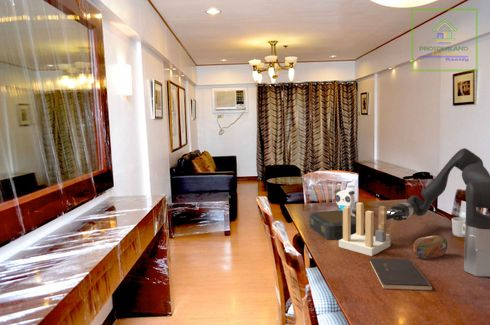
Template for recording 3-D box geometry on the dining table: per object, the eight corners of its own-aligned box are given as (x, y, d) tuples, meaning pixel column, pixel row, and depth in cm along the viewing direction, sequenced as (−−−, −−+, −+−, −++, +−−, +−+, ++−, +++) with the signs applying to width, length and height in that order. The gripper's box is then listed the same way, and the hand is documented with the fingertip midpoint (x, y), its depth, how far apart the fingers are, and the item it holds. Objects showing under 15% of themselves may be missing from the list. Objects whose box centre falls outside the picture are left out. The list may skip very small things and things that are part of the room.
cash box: (366, 237, 172) (366, 221, 172) (327, 241, 169) (327, 225, 168) (342, 223, 197) (342, 209, 196) (308, 226, 193) (308, 212, 192)
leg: (386, 239, 158) (386, 206, 156) (383, 241, 156) (383, 207, 155) (381, 238, 160) (381, 206, 158) (378, 239, 158) (378, 206, 156)
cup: (476, 240, 161) (477, 223, 160) (457, 240, 163) (457, 223, 162) (466, 233, 172) (467, 217, 171) (448, 233, 173) (449, 217, 172)
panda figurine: (330, 215, 213) (330, 190, 211) (341, 211, 220) (341, 187, 219) (348, 218, 204) (348, 193, 202) (358, 214, 211) (358, 190, 210)
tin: (417, 260, 142) (417, 240, 141) (411, 257, 145) (411, 237, 144) (447, 255, 146) (448, 235, 145) (441, 252, 149) (442, 233, 148)
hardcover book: (382, 290, 119) (382, 283, 119) (369, 263, 142) (369, 257, 142) (433, 292, 117) (433, 285, 117) (411, 264, 139) (411, 258, 139)
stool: (392, 245, 159) (392, 206, 157) (371, 256, 148) (372, 213, 146) (359, 237, 171) (360, 200, 169) (338, 246, 160) (338, 207, 158)
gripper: (388, 201, 173) (370, 207, 162) (416, 205, 164) (398, 212, 152) (388, 216, 174) (369, 223, 163) (415, 221, 164) (398, 229, 153)
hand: (383, 218), depth 158 cm, fingers closed
